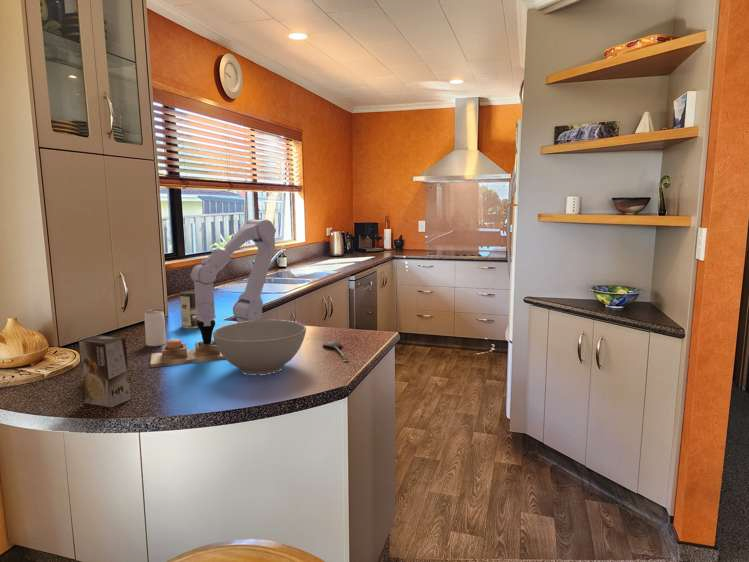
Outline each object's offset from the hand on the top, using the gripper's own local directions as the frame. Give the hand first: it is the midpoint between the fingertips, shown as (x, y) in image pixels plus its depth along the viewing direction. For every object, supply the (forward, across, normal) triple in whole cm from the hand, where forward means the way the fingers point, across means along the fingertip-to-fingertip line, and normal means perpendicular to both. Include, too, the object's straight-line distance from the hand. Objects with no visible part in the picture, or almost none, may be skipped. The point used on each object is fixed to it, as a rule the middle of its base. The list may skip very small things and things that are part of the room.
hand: (207, 343), depth 168 cm
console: (+4, 0, -5) cm, 6 cm away
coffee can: (+4, -47, -2) cm, 47 cm away
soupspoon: (+5, +13, +40) cm, 42 cm away
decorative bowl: (+4, +21, +14) cm, 26 cm away
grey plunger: (+3, 0, 0) cm, 3 cm away
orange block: (+1, 0, -10) cm, 10 cm away
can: (+4, -22, -16) cm, 28 cm away
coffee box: (+4, +32, -26) cm, 41 cm away
